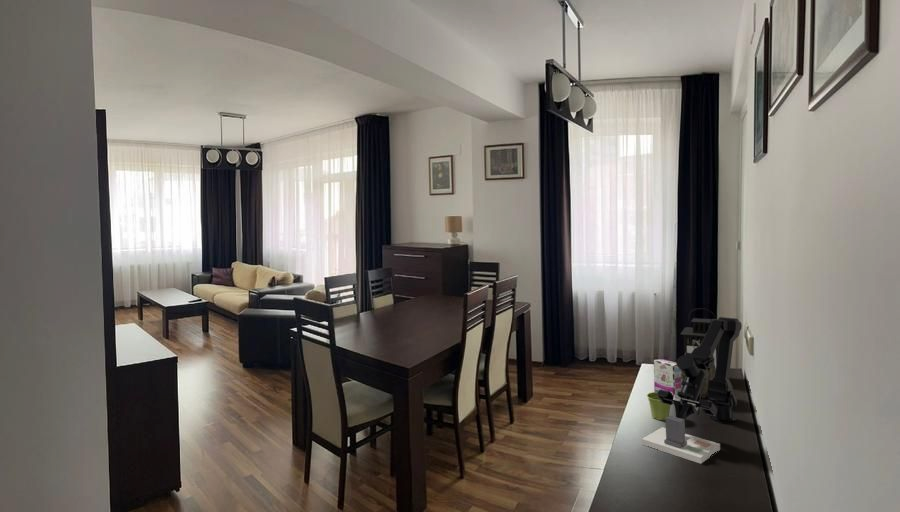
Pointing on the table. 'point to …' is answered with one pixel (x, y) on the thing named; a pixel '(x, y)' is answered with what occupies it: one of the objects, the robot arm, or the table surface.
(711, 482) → the table surface
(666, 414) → the plant pot
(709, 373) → the tabletop clock
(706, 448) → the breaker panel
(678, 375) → the candy bar box
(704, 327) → the lantern
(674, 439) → the handle
